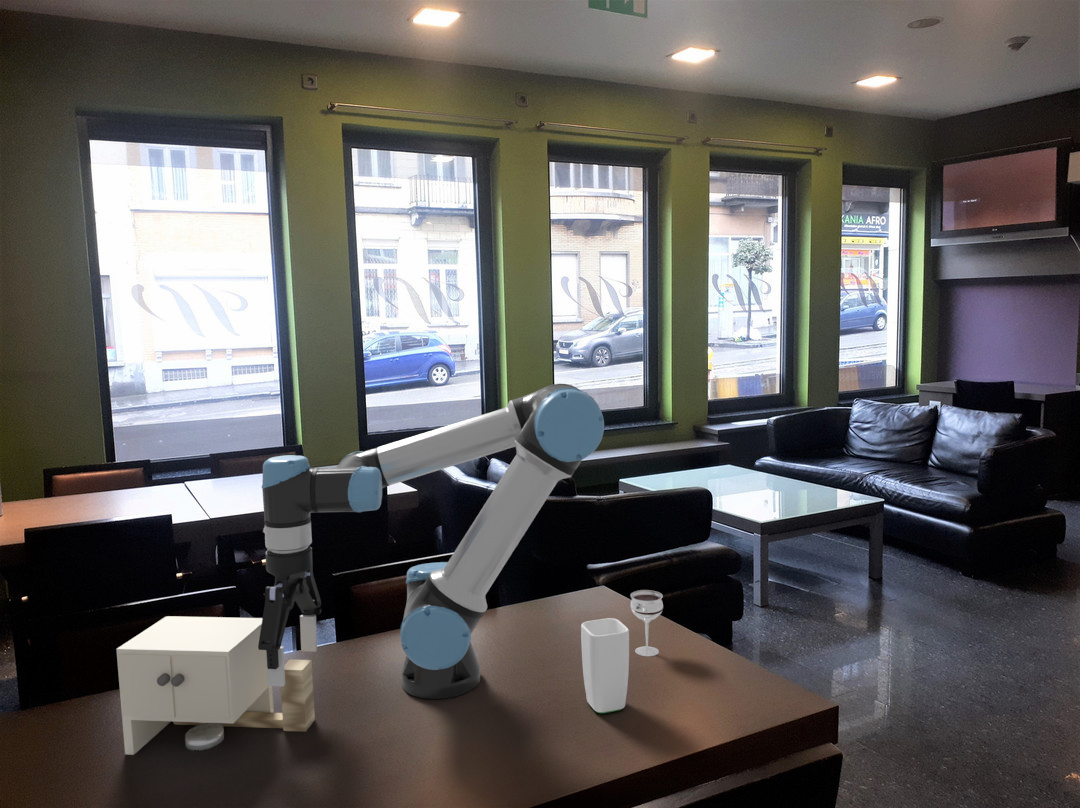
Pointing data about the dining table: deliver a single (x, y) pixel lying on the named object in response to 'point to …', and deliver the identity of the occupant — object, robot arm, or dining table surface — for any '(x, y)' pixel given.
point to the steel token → (204, 736)
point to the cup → (605, 663)
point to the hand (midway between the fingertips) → (293, 667)
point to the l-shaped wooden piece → (284, 703)
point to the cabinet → (191, 675)
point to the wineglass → (646, 614)
